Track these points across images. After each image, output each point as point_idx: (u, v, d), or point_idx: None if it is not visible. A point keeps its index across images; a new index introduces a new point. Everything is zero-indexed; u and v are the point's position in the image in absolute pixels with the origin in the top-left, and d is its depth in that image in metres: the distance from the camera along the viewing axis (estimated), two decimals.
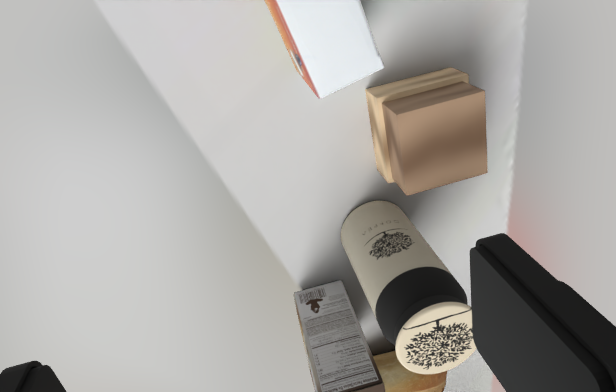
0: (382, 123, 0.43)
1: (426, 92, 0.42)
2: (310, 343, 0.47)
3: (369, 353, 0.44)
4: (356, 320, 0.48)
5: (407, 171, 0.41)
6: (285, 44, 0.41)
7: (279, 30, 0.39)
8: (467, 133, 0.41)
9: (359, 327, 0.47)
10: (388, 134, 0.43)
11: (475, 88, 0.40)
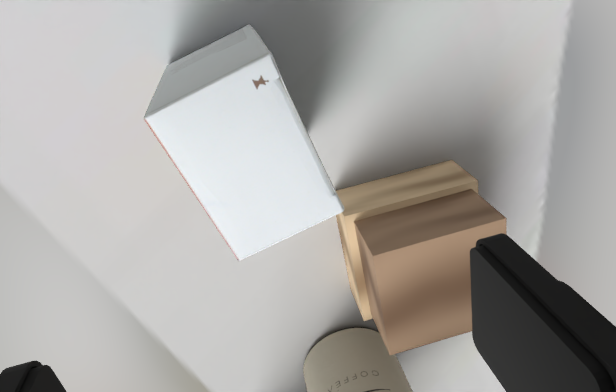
0: (353, 248, 0.30)
1: (419, 206, 0.29)
2: None
3: None
4: None
5: (389, 326, 0.28)
6: None
7: None
8: None
9: None
10: (363, 264, 0.30)
11: (491, 209, 0.27)
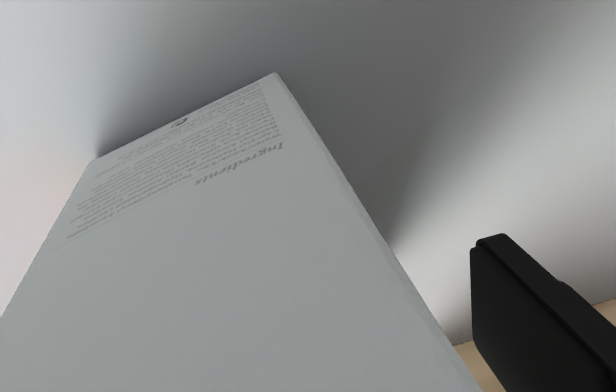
0: None
1: None
2: None
3: None
4: None
5: None
6: None
7: None
8: None
9: None
10: None
11: None
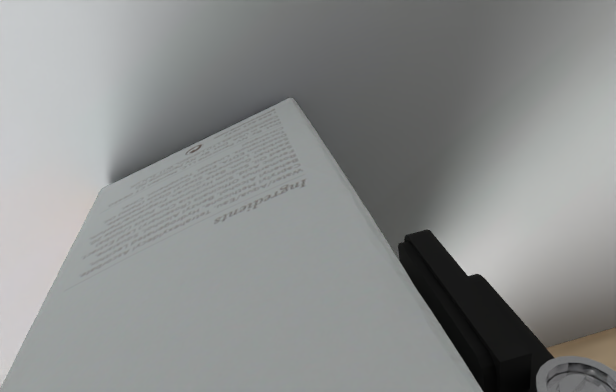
0: None
1: None
2: None
3: None
4: None
5: None
6: None
7: None
8: None
9: None
10: None
11: None
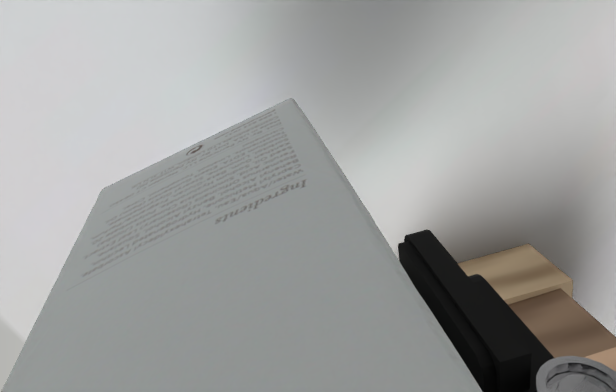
0: None
1: None
2: None
3: None
4: None
5: None
6: None
7: None
8: None
9: None
10: None
11: (598, 326, 0.20)
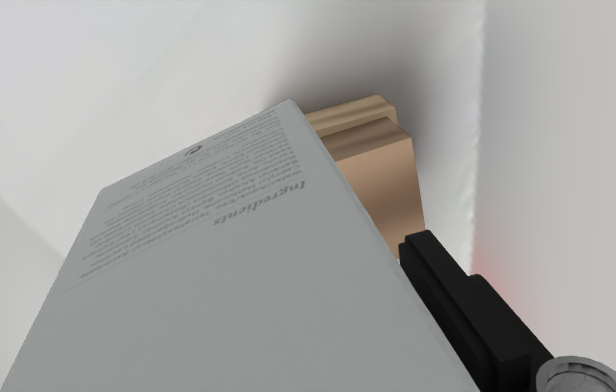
0: None
1: (332, 136, 0.28)
2: None
3: None
4: None
5: None
6: None
7: None
8: (391, 199, 0.27)
9: None
10: None
11: (399, 131, 0.27)
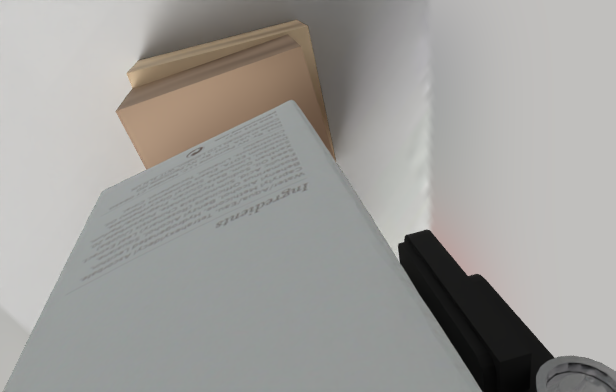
0: None
1: (214, 61, 0.22)
2: None
3: None
4: None
5: None
6: None
7: None
8: None
9: None
10: None
11: (291, 43, 0.20)
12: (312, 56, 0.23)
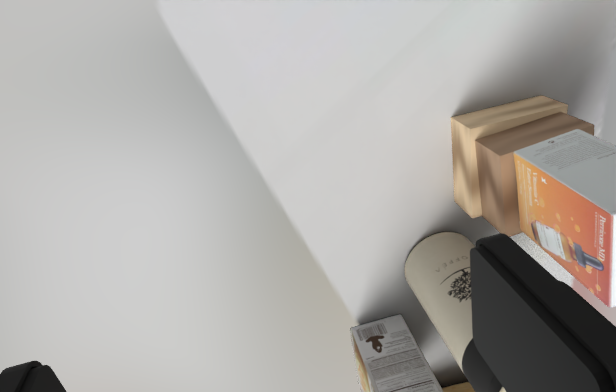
0: (473, 156, 0.40)
1: (523, 126, 0.39)
2: (377, 388, 0.43)
3: None
4: (425, 362, 0.45)
5: (507, 213, 0.38)
6: (524, 207, 0.37)
7: (528, 197, 0.35)
8: None
9: (430, 371, 0.44)
10: (482, 172, 0.40)
11: (580, 121, 0.37)
12: None
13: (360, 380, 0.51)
